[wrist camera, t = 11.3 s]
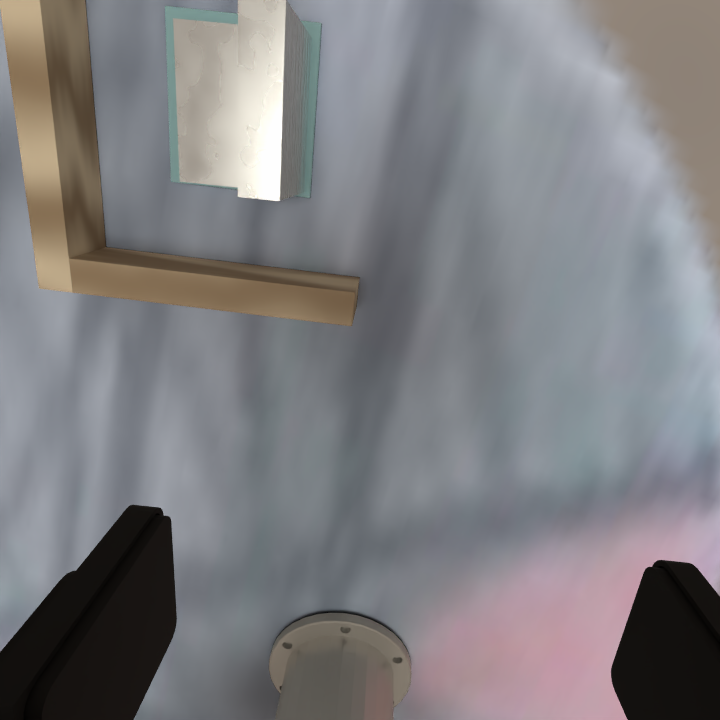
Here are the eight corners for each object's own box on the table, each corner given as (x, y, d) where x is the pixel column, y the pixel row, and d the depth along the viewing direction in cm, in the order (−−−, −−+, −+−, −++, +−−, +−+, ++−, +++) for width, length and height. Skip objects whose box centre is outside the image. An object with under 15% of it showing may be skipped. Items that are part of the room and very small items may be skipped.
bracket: (304, 192, 30) (279, 201, 24) (189, 180, 30) (133, 186, 24) (311, 37, 27) (285, -2, 21) (184, 25, 27) (118, -17, 21)
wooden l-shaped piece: (356, 307, 33) (351, 326, 29) (78, 274, 33) (39, 288, 29) (402, -124, 25) (404, -175, 21) (32, -163, 25) (-31, -219, 21)
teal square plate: (310, 197, 30) (309, 197, 30) (172, 181, 31) (170, 181, 30) (321, 24, 27) (321, 22, 27) (166, 6, 27) (164, 5, 27)
